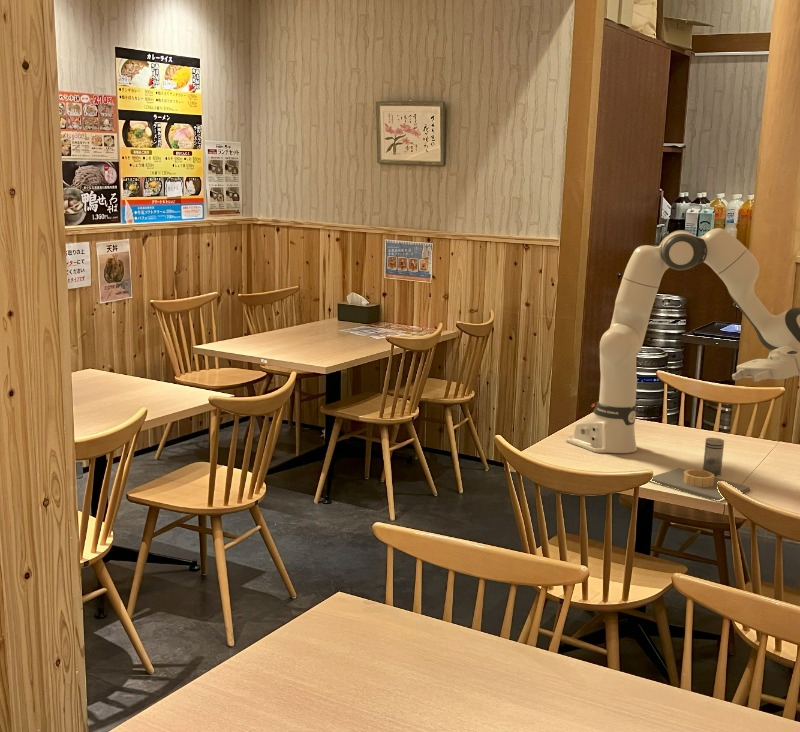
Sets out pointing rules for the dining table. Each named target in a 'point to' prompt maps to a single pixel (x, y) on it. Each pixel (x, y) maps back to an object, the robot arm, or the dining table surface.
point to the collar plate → (699, 491)
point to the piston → (713, 455)
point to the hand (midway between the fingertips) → (743, 378)
